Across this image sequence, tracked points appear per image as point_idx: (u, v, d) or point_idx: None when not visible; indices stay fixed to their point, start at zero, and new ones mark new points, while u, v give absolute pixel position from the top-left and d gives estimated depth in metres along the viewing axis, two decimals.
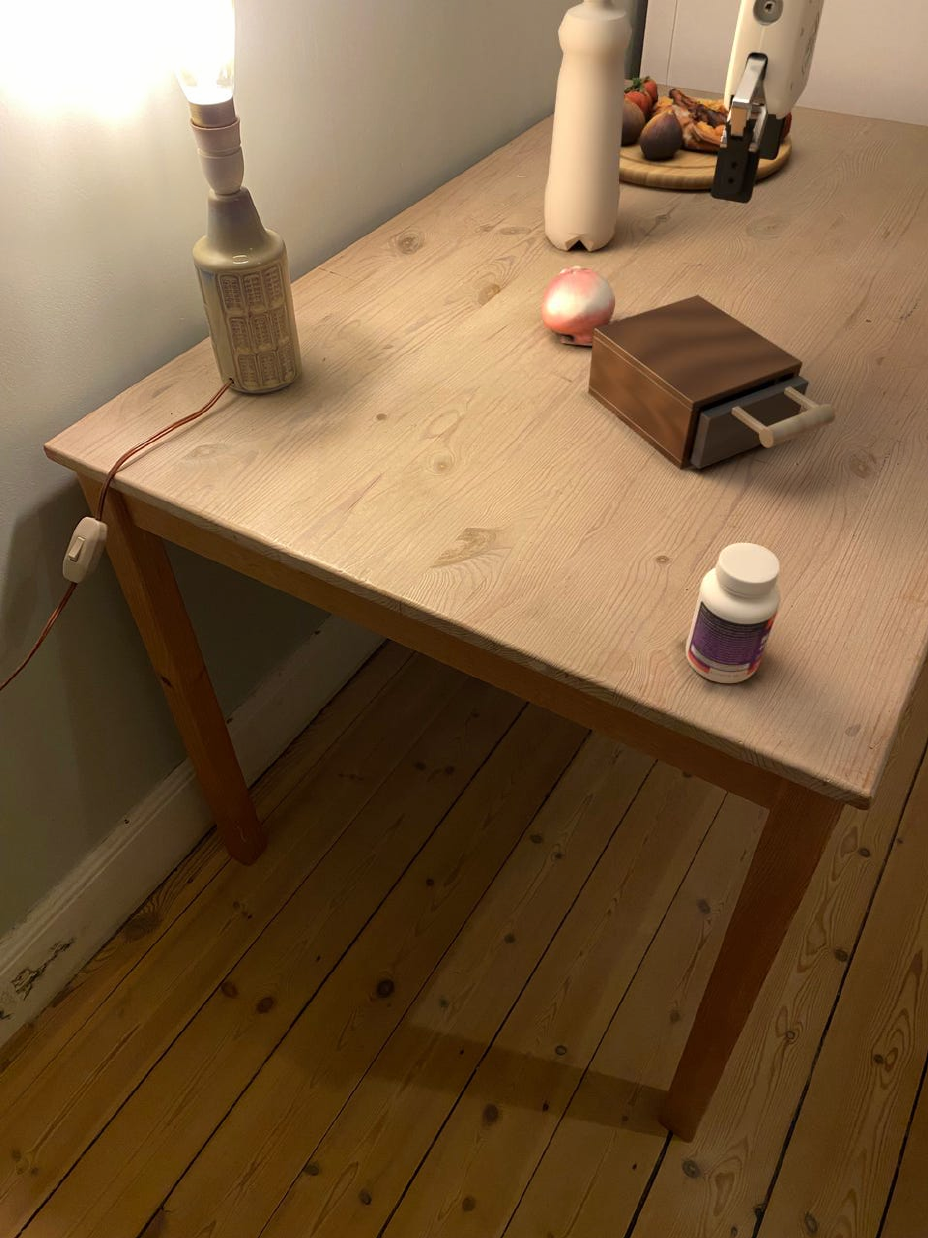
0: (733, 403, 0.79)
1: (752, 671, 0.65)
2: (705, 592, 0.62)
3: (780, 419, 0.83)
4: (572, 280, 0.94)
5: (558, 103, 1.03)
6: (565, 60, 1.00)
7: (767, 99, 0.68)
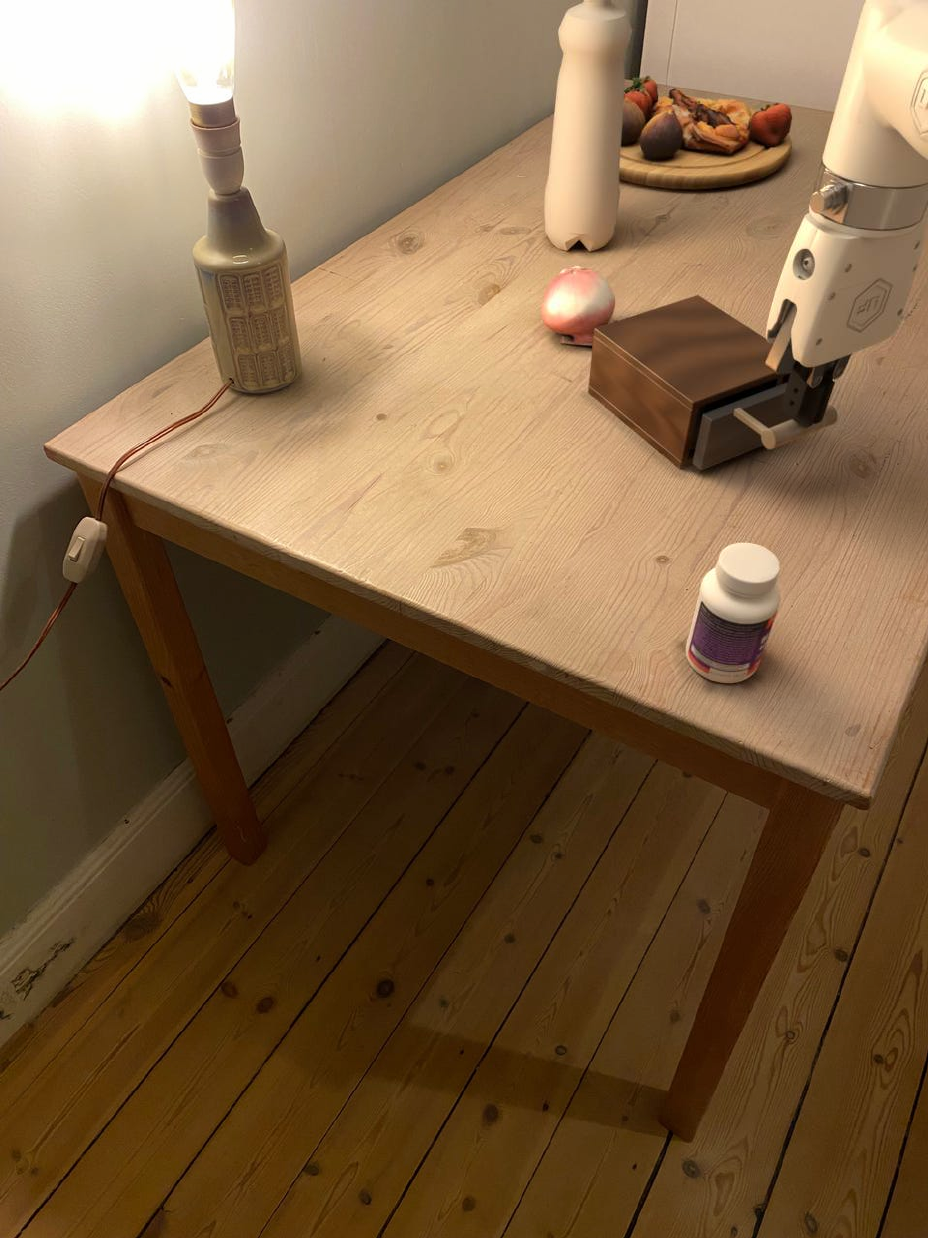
0: (735, 404, 0.79)
1: (752, 671, 0.65)
2: (705, 592, 0.62)
3: (782, 420, 0.83)
4: (572, 280, 0.94)
5: (558, 103, 1.03)
6: (565, 60, 1.00)
7: None
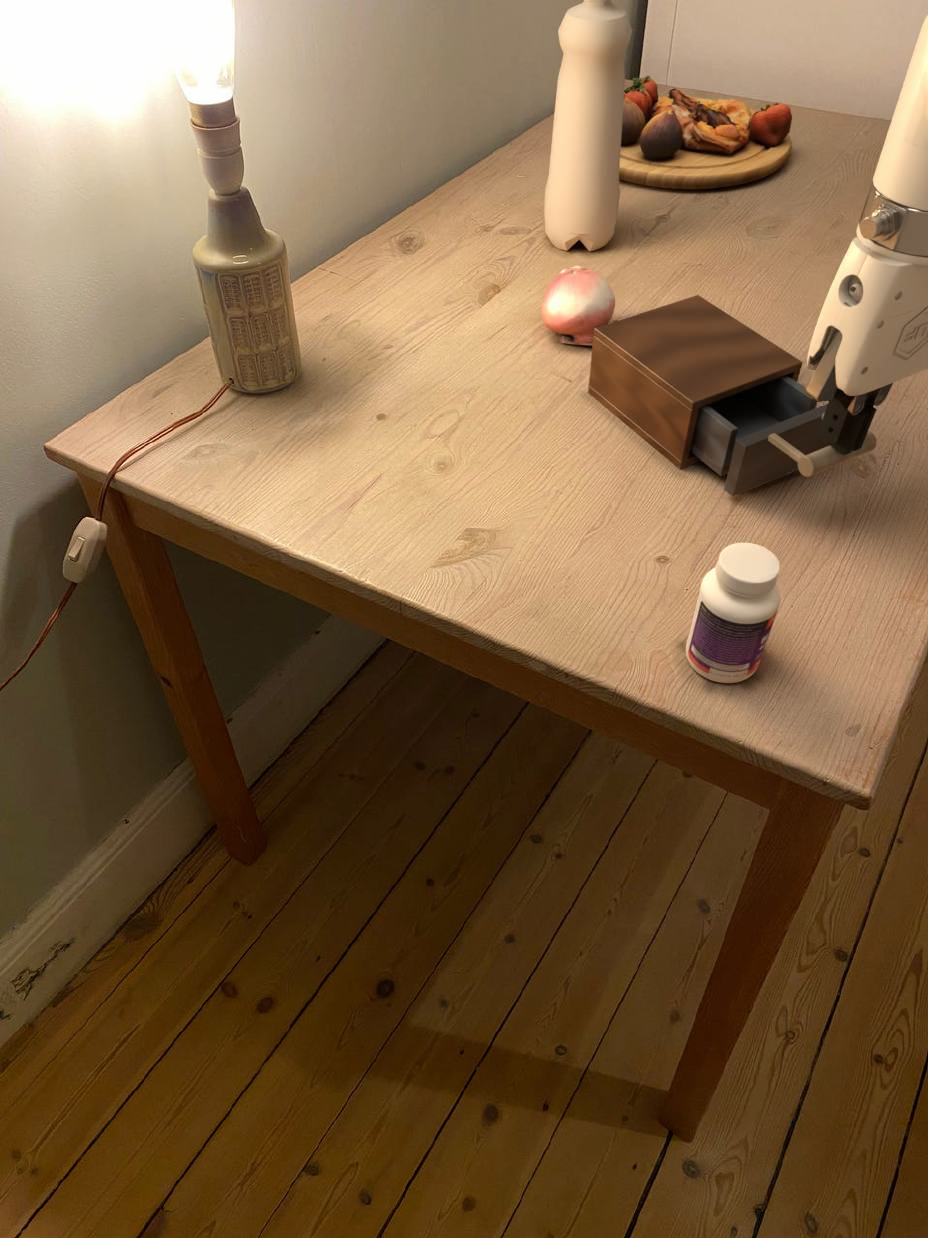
0: (769, 429, 0.76)
1: (752, 671, 0.65)
2: (705, 592, 0.62)
3: (816, 445, 0.80)
4: (572, 280, 0.94)
5: (558, 103, 1.03)
6: (565, 60, 1.00)
7: None
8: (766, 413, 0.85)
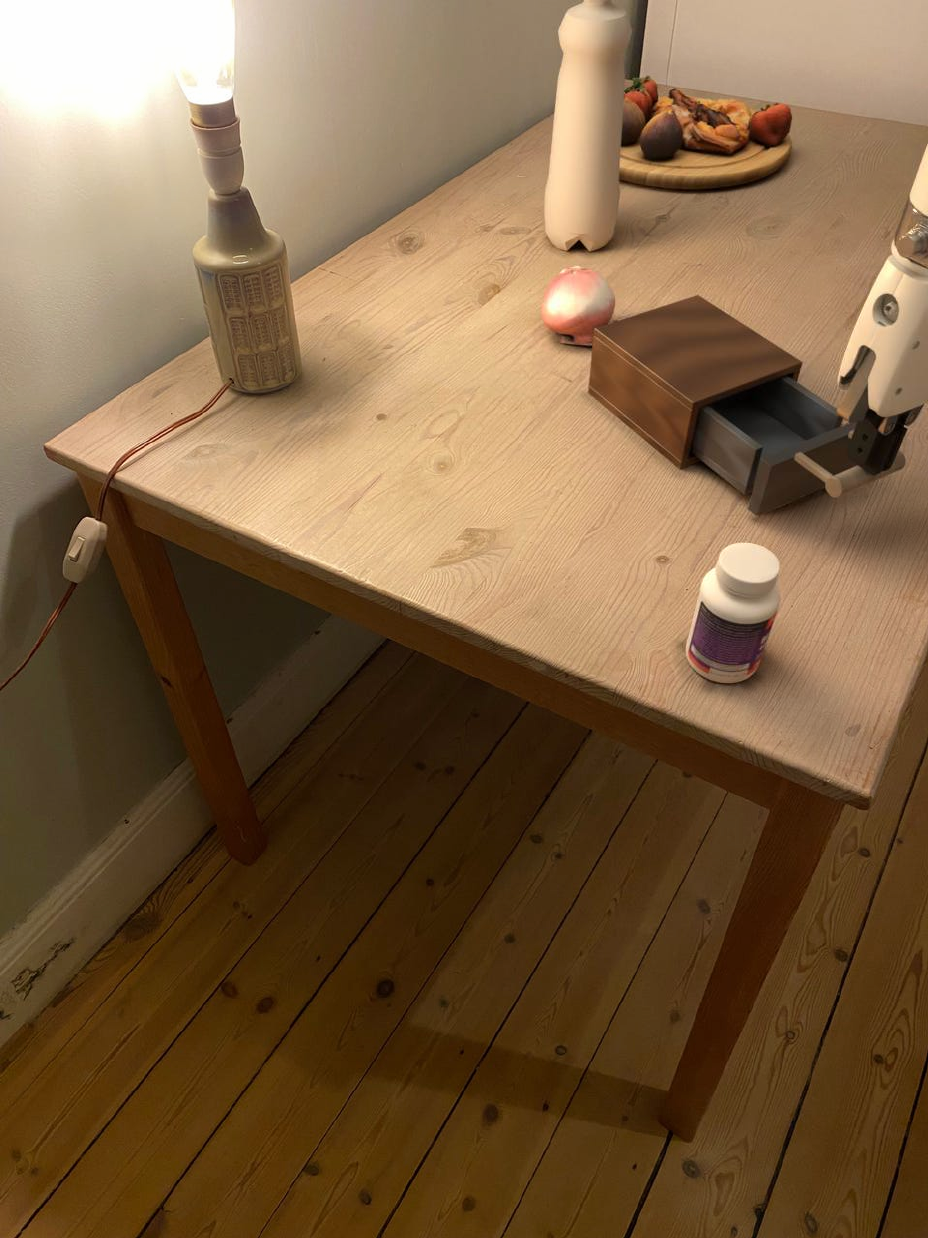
0: (795, 448, 0.75)
1: (752, 671, 0.65)
2: (705, 592, 0.62)
3: (842, 463, 0.78)
4: (572, 280, 0.94)
5: (558, 103, 1.03)
6: (565, 60, 1.00)
7: None
8: (789, 429, 0.84)
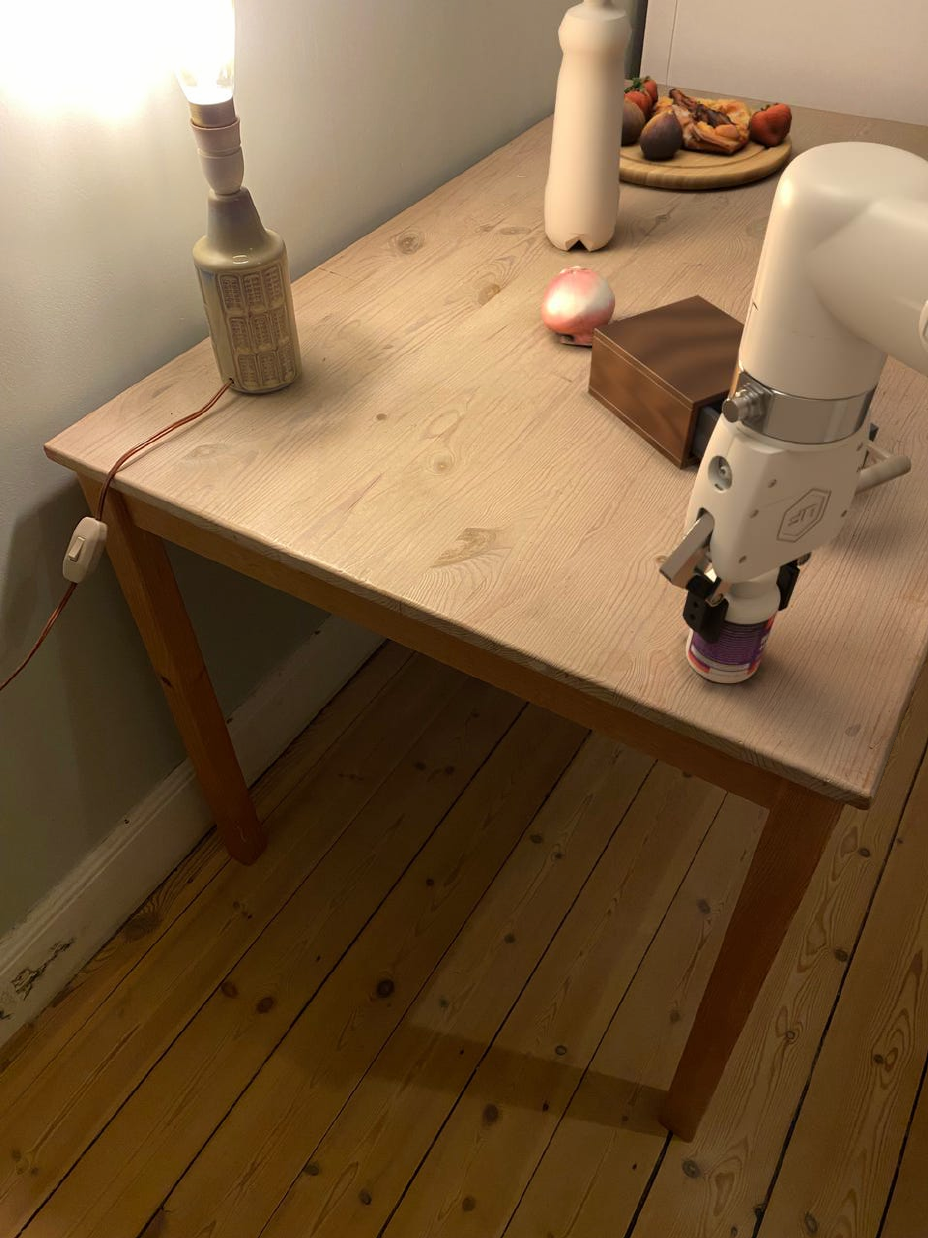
0: None
1: (752, 671, 0.65)
2: None
3: None
4: (572, 280, 0.94)
5: (558, 103, 1.03)
6: (565, 60, 1.00)
7: None
8: None
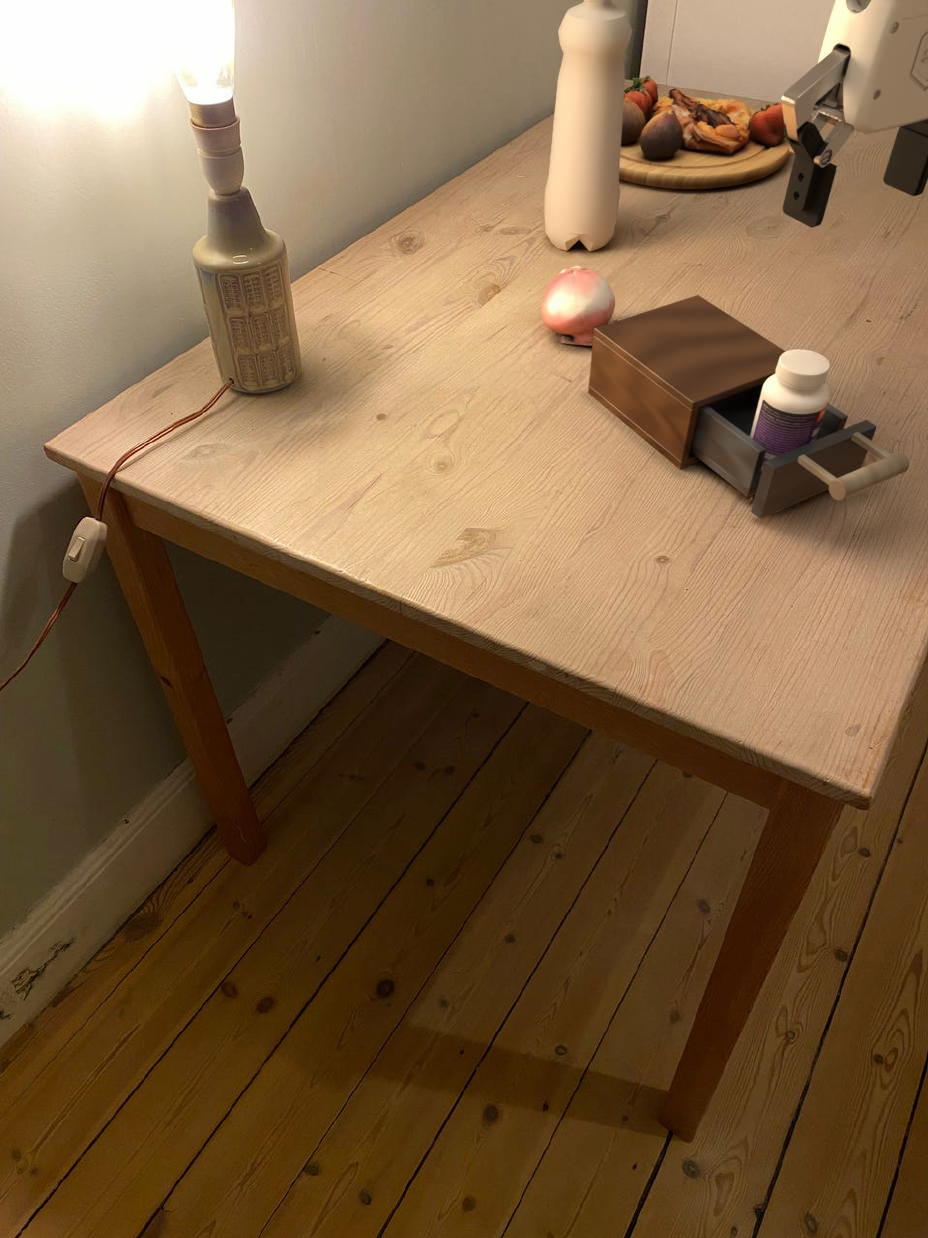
0: (798, 451, 0.74)
1: None
2: (766, 391, 0.75)
3: (845, 465, 0.78)
4: (572, 280, 0.94)
5: (558, 103, 1.03)
6: (565, 60, 1.00)
7: (844, 104, 0.56)
8: None
